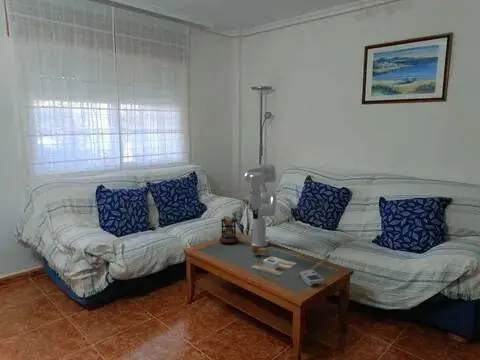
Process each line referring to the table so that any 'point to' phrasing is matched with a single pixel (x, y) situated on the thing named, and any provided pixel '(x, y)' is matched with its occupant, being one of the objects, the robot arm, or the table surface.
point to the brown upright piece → (228, 231)
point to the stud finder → (271, 264)
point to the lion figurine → (258, 250)
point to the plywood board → (282, 267)
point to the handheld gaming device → (311, 277)
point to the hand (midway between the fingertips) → (255, 218)
